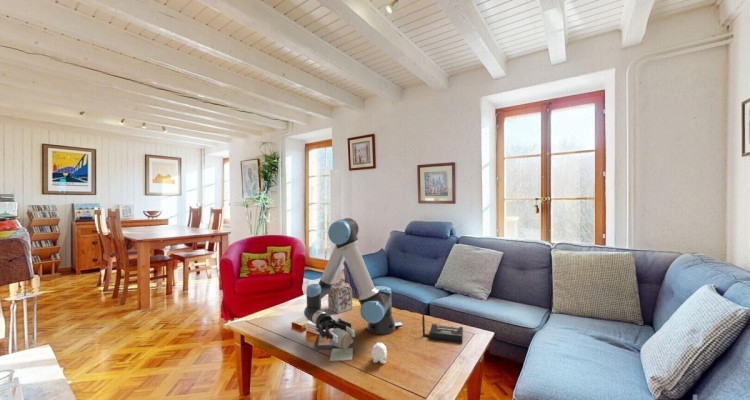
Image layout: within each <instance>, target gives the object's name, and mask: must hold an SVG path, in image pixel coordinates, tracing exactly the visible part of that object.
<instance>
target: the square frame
mask: <svg viewBox="0 0 750 400" xmlns="http://www.w3.org/2000/svg"><path fill="white" fill-rule="evenodd" d="M330 331H331V332H332V331H333V330H329V332H330ZM324 332H325V330H324ZM318 334H319V333H318ZM321 340H322V336H321V335H320V334H319V335H318V338H317V341H316V344H315V350H330V349H331V350H332V349H340V348H339V347H337V346H334V345H332V344H320V343H321Z"/></svg>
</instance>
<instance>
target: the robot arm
mask: <svg viewBox="0 0 750 400" xmlns="http://www.w3.org/2000/svg"><path fill="white" fill-rule="evenodd" d="M359 229H360V228H359V225H358V223H357V222H356V220H354V219H352V218H349V217H348V218H346V217H345V218H343V219H338V220H336V221H334V222H332V223H331V224H330V226H329V228H328V232H327V234H328V239H329V241H331V242H332V243H333V244H334V247H333V249H332V253H331V254H330V256H329V260H327V264H326V266H325V268H324V270H323V273H322V275H321V277H320V280H319V281H318V283H311V284H308V285H307V286H306V307H305V308H304V311H303V315H304V317H305V318H306V319H307V321H310V322H311V323H312V324H314V325H315V331H316V332H318V334H320V335H321V336H322V337H321V339H325V337H326V340H330V339H332V340H334V341H335V342H336V343H337V342H338V336H337V335H335V334H334V333H333V332H331V331H332V330H331V329H333V330H334V329H335V328H340V329H342V330H344V331H346V332H348V333H349V334H350V335H351V337H352V338H354V337H356V335H355V333H356V331H355V329H353V327H352V323H350V322H348V321H346V320H343V319H341V318H337V320H335V319H333V317H332V316H331V315H330V314H328V313H326V312H325V311H323V310H322V299H323V298H325V297H326V296H328V293H330V291H331V290H332V288H333V285H332V284H334V283H335V280H336V278H337V276H338V273H339V270H340V268H341V266H342V264H343V263H344V260H345V262H346V266H347V268H348V270H349V273H350V274H351V277H352V280H353V282H354V285H355V287H356V289H357V293H358V294H359V296H358V302H359V305H360V309H359V313H360V316H361V318H362V319H363V320H364V321H365V322H367V330H368V332H369V333H371V334H374V335H388V334H391V333H393V332H395V330H396V322H395V320H394V317H393V313H392V311H393V310H392V308H393V307H392V305H393V304H392V303H393V302H392V288H390V287H389V286H384V285H376V286H375V285H374V282H373V280H372V279H373V278H372V277H371V275H370V273H369V270H368V267H367V266H366V263H365V261H364V260H365V259H364V258H363V256H362V255H363V254H362V253H361V250H360V249H359V247H358V243H359V238H358V234H359ZM324 331H325V332H324ZM329 331H330V332H329Z"/></svg>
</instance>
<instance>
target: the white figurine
mask: <svg viewBox="0 0 750 400" xmlns="http://www.w3.org/2000/svg"><path fill="white" fill-rule="evenodd" d="M387 355H388V350H387V346H386V345H385V344H384V343H382V342H376V343H375V344H374V345H373V347H372V349H371V357H372V359H373V360H372V362H373V363H375V364H377V363H381V364H382V365H383V364H387V361H386V360H387Z"/></svg>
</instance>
